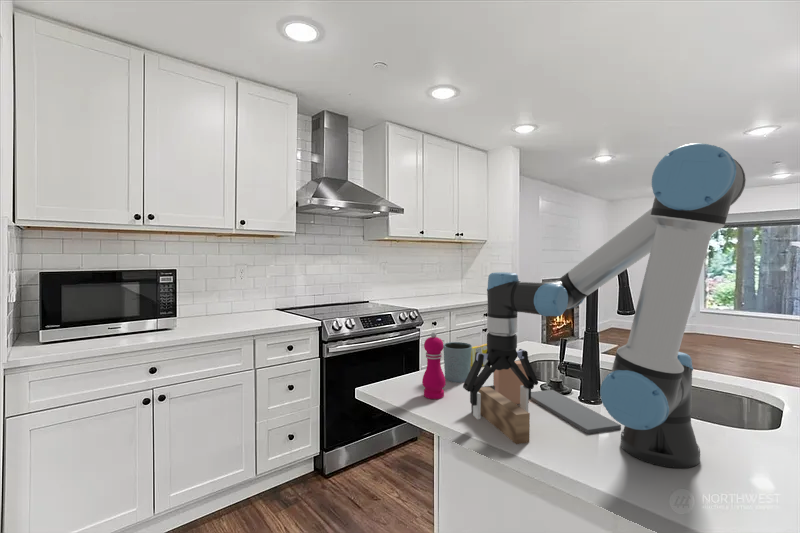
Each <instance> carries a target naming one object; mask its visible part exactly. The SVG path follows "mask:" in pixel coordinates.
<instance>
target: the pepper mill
mask: <svg viewBox="0 0 800 533" xmlns="http://www.w3.org/2000/svg"><path fill="white" fill-rule="evenodd" d="M443 345H444V341H443V340H442V339H441V338H440V337H437V333H436V332H435V331H433V332H431V334H430V337H428V338H426V339H425V341H424V344H423V348H424V350H425V351H426V352H425V358H426V369H425V370H424V373H423V376H422V383H421V384H422V387H423V388H424V389H423V396H424V398H426V399H430V400H439V399H443V398H444V396H445V389H444V387H445V386H446V383H447V382H446V379H445V373H444V372H443V369H442V366H441V358H443V357H442V355H443V353H442V352H443V351H444V350H443Z"/></svg>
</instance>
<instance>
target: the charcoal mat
mask: <svg viewBox="0 0 800 533" xmlns="http://www.w3.org/2000/svg"><path fill="white" fill-rule="evenodd" d="M530 400H531V401H532V402H534V403H535V404H537V405H539V406H540V407H542V408H544V409H545V410H547V411H549V412H550V413H551V414H552V413H553V414H554V415H556V416H557V417H559V418H560V419H562V420H564V421H566V422H567V423H569V424H570V425H572V426H574V428H575V427H576V428H577V429H579V430H580V431H582V432H584V433H586V434H594V433H602V432H608V431H617V430H621V429H622V424H621V423H620V424H619V422H616V421H615V420H613V419H610V418H608V417H606V416H605V415H603V414H600V413H599V412H596V411H595V410H593V409H590V408H589V407H587V406H585V405H583V404H581V403H579V402H577V401H576V400H573V399H572V398H569V397H567V396H566V395H564V394H562V393H559V392H558V391H556V390H554V389H547V390H545V389H544V390H537V391H531V399H530Z"/></svg>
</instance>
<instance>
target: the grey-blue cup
mask: <svg viewBox="0 0 800 533" xmlns="http://www.w3.org/2000/svg"><path fill="white" fill-rule="evenodd" d="M472 347H473V346H472V345H471V344H470V343H468V342H462V341H461V342H459V341H452V342H450V341H449V342H446V343H443V350H442V351H443V363H444V365H443V366H444V368H443V369H444V377H445V381H448V382H451V381H452V383H465V380H466V378H467V376H468V374H469V372H470V363H471V352H472Z"/></svg>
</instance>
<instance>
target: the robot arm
mask: <svg viewBox="0 0 800 533" xmlns="http://www.w3.org/2000/svg"><path fill="white" fill-rule="evenodd" d="M659 160H660V161H658V163H657V165H656V166H655V168H654V170H653V172H652V176H651V187H652V188H651V189H652V190H651V191H652V193H653V195H654V200H653V204H652V207H651V208H650V209H649V210H648V211H646V212H645V213H643V214H641V215H640V217H638V218H637V219H635V220H634V221H633V222H632V223H630V224H628V226H626V227H625V228H624V229H622V230H621V231H619V233H617V234H616V235H615V236H613V237H612V238H610V240H608V241H606V242H605V243H604V244H603V245H601V246H600V247H599V248H597V249H596V250H594V251H593V252H592V253H591V254H590V255H589V256H586V258H584V259H583V260H582V261H580V262H579V263H578V264H577V265H575V266H574V267H572V268H571V269H569V271H568V272H566V273H565V274H564V275H562V276H561V277H560V278H558V279H557V280H551V281H543V282H542V281H541V282H529V281H528V282H527V281H519V275H518V274H517V273H515V272H505V271H503V272H502V271H501V272H491V273H490V274H489V275H488V278H487V289H486V291H487V292H486V294H487V295H486V296H487V316H486V318H487V319H486V320H487V322H486V330H487V334H486V344H487V352H486V354H485V353H479V352H476V353H475V361H474V363H473V365H472V367H471V369H470V372H469V374H468V376H467V378H466V380H465V382H463V385H462V388H463V389H464V390H465V391H467V392H468V393H469V402H470V404H472V405H473V413H472V416H473V417H474V418H476V420H481V415H480V414H481V393H479V392H478V391H479V390H480V388H481V387H484V384H485V383H486V381H487V380H488V379H489V377H491V374H493V372H494V371H495V370H496V369H497V370H502V369H506V370H507V369H509V368H511V370H512V371H513V372H514V373H515V375H516V376H517V377H518V378H519V379H520V381H521V382H522V383H523V384H524V386H520V404H519V407H521V408H522V409H524V410H526V411H527V412H529V403H528V400H529V401H530V400H531V392H532V390H533V389H534V388H535V386H537V385H538V384H539V380H538V378H537V376H536V374H535V371H534V370H533V367H532V365H531V363H530V359H529V354H528V351H527V350H525V349H522V348H519V349H518V350H517V347H518V335H517V333H518V313H525V314H533V315H540V316H543V317H561V316H562V315H563V314H564V312H566V311H567V310H571V309H574V308H576V307H578V306H579V305H581V304H582V303H583V302H584V300H585V299H586V298H587V297H588V296H589V295H591V294H592V293H594V292H595V291H596V290H598V289H599V288H601V287H603V286H605V284H607V283H608V282H610V281H611V280H613V279H614V278H615V277H617V276H618V275H620V274H621V273H623V272H624V271H626V270H628V268H630V267H631V266H634V264H636V263H637V262H639V261H640V260H642V259H643V258H644V257H646V256H648V255H649V257H648V261H647V264H646V268H645V273H644V277H643V280H642V284H641V289H640V292H639V297H638V301H637V304H636V308H635V312H634V317H633V321H632V324H631V329H630V332H629V336H628V340H627V343H626V344H624V345H622V346H620V347H618V348H617V350H616V353H615V357H614V360H613V365H612V369H611V371H610V372H609V373H608V374H606V376H605V377H604V379H603V380H602V382H601V384H600V390H599V394H600V399H601V404H602V405H603V407H604V408H605V411H607V413H608V414H609V416H611V418H613V419H614V421H615V422H616V421H617V422H616V423H618V424H619V423H620V425H621V426H623V427H624V428H623V429H622V431H621V434H620V445H621V448H622V449H623V450H624V451H625V453H627V454H628V455H630V456H633V457H634V458H637V459H639V460H640V461H644V462H646V463H649V464H653V465H656V466H659V467H660V466H661V467H667V468H675V469H688V468H692V467H696V466H697V465H699V464H700V462H701V448H700V446H699V444H698V442H697V439H696V435H695V431H694V429H693V426H692V393H693V392H692V386H693V385H692V384H693V371H694V367H693V360H692V356H690V355H689V354H688V353H685V352H682V351H680V348H681V344H682V342H683V337H684V334H685V330H686V327H687V323H688V319H689V316H690V314H691V309H692V306H693V301H694V298H695V295H696V291H697V287H698V284H699V280H700V276H701V274H702V270H703V266H704V262H705V259H706V256H707V251H708V247H709V244H710V240H711V238H712V235H713V234H714V233H715V232H717V231H719V230H721V229H723V228H724V227H725V225H726V222H727V220H728V215H729V211H730V208H731V207H732V206H733V204H735V203H736V202H737V201H738V200H739V198H740V197H741V196H742V194H743V192H744V190H745V186H746V181H747V180H746V173H745V171H744V168H743V166H742V165H741V164H740V163H739V161H737V160H736V159H735V158H733V156H732V155H731V153H729V152H728V151H727V150H725V149H724V148H722V147H721V146H717V145H715V144H713V145H712V144H709V143H703V142H702V143H701V142H696V143H694V142H693V143H689V144H684V145H682V146H679V147H677V148H675V149H673V150H671V151H670V152H668V153H667V154H666V155H664V156H663V157H662V158H661V159H659ZM485 359H487V360H488V361H487V363H486V364H485V366H483V367H482V365H483V362H485ZM517 359H519V361H520V362H521V364H522V366H523V368H524V370H525V373H526V375H527V377H528V379H529V380H528V379H527V378H526V376H525V375H524V374H523V373H522V371H521V370H520V369H519V367H518V365H517V364H516V363H515V362H514V361H517ZM481 369H482V370H481Z"/></svg>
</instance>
